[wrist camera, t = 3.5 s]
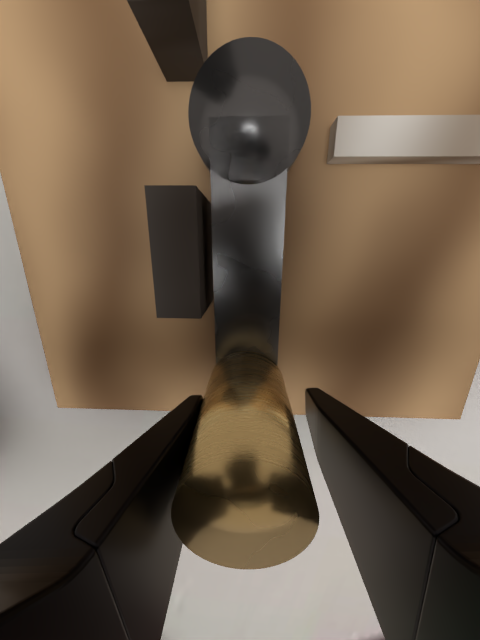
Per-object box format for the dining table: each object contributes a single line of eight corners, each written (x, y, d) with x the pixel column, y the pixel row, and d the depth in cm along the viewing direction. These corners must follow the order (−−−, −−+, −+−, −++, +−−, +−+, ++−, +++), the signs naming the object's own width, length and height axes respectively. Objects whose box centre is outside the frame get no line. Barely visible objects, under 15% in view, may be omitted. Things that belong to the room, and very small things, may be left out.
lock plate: (76, 391, 14) (3, 453, 10) (-56, -233, 8) (-434, -829, 3) (438, 401, 14) (524, 471, 9) (627, -268, 7) (1199, -1042, 3)
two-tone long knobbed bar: (193, 69, 8) (20, -500, 2) (306, 67, 8) (504, -546, 2) (207, 398, 11) (162, 565, 5) (285, 400, 11) (326, 572, 5)
